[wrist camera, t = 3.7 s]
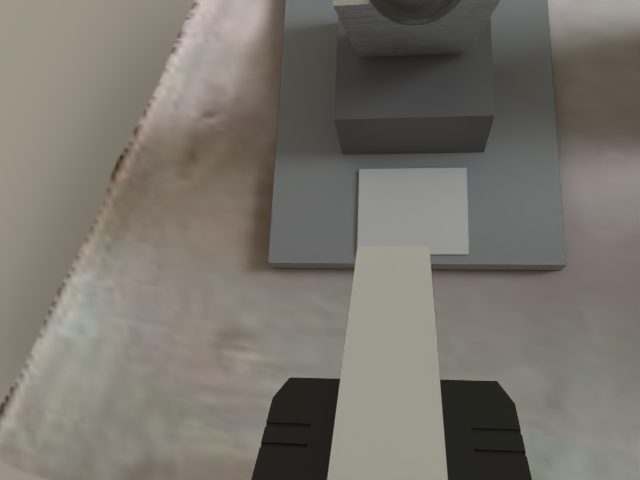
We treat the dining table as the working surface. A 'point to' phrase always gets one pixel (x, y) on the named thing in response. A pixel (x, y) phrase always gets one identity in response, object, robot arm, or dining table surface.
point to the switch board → (492, 176)
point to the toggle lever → (413, 25)
